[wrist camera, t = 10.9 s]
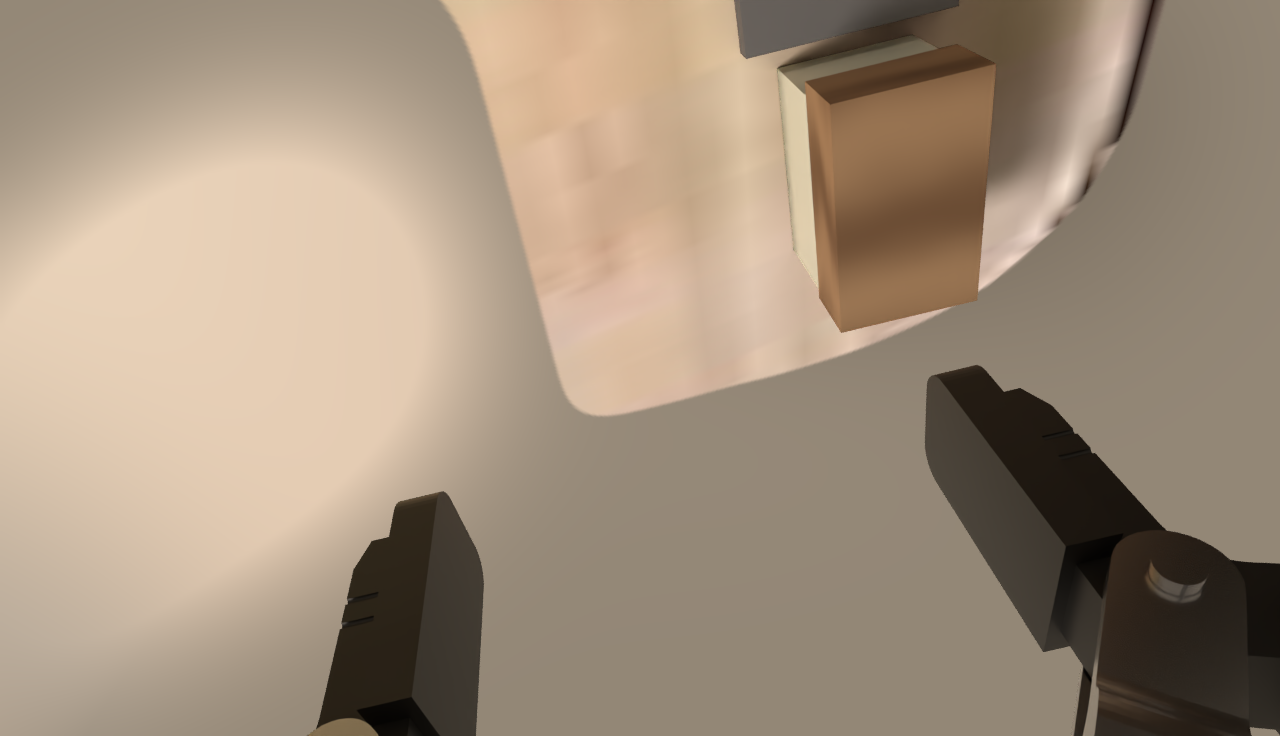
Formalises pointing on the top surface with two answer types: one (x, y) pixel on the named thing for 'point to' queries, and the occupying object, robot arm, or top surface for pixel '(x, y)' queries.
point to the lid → (900, 184)
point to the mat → (818, 20)
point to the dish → (797, 129)
